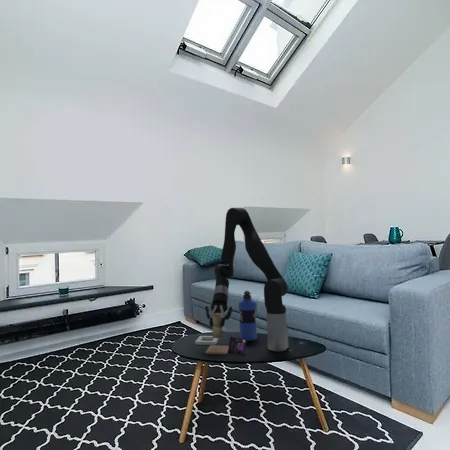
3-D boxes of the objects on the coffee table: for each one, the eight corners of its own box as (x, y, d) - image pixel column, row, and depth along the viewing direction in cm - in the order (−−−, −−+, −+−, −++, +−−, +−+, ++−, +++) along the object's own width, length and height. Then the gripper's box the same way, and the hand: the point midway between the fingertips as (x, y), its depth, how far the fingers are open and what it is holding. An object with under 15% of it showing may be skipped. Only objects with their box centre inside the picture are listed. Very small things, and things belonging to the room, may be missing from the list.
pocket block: (200, 338, 180) (200, 335, 181) (219, 339, 179) (219, 336, 179) (195, 344, 170) (195, 341, 170) (215, 345, 168) (215, 342, 168)
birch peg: (218, 334, 163) (217, 312, 164) (224, 336, 160) (223, 313, 160) (210, 336, 160) (210, 313, 161) (216, 338, 157) (216, 315, 158)
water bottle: (256, 335, 183) (254, 289, 184) (258, 340, 174) (256, 292, 175) (239, 336, 183) (237, 290, 184) (240, 341, 174) (238, 292, 175)
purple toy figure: (229, 336, 160) (245, 339, 154) (235, 337, 164) (251, 340, 158) (227, 351, 158) (243, 354, 152) (233, 352, 161) (248, 355, 156)
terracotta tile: (210, 346, 166) (210, 345, 166) (230, 347, 164) (230, 345, 164) (205, 353, 156) (205, 351, 156) (226, 354, 154) (226, 352, 154)
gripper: (205, 291, 170) (200, 321, 157) (233, 292, 167) (230, 322, 155) (208, 300, 175) (203, 330, 162) (235, 300, 172) (232, 330, 160)
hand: (216, 326), depth 159 cm, fingers closed on birch peg, 4 cm apart
